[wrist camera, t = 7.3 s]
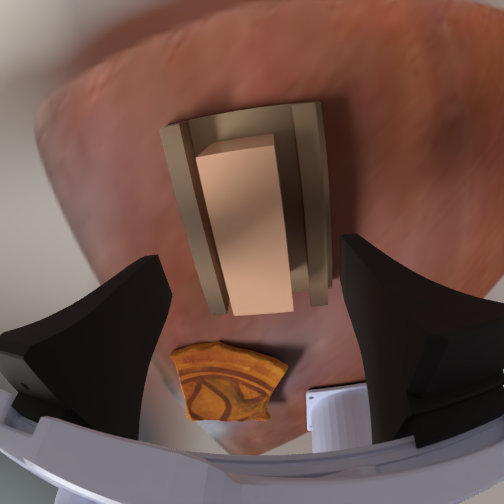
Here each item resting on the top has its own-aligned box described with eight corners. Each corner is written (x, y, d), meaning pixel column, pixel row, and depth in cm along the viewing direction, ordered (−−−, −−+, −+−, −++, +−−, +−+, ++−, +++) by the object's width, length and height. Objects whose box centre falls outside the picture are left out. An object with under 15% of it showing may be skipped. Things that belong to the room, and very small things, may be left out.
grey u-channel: (330, 280, 18) (336, 304, 16) (209, 291, 19) (203, 314, 17) (318, 101, 13) (326, 101, 11) (165, 125, 14) (149, 131, 12)
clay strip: (290, 271, 17) (293, 311, 14) (240, 275, 18) (234, 315, 15) (273, 133, 13) (273, 145, 10) (213, 142, 14) (195, 157, 11)
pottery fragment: (185, 422, 25) (152, 384, 19) (190, 384, 29) (163, 335, 22) (285, 426, 25) (291, 390, 18) (284, 386, 28) (288, 336, 22)
